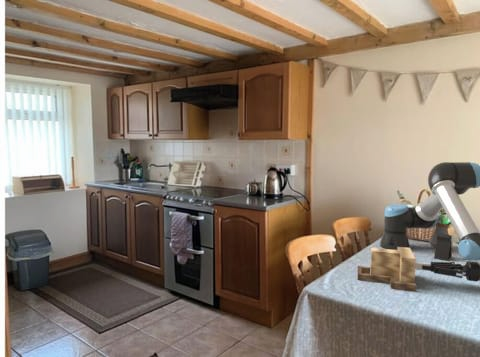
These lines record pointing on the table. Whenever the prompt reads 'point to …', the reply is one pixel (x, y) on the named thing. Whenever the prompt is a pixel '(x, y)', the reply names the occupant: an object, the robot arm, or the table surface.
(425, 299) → the table surface
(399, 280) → the oak T block
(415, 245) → the table surface
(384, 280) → the walnut T frame
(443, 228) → the coffee pot
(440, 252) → the phone stand
